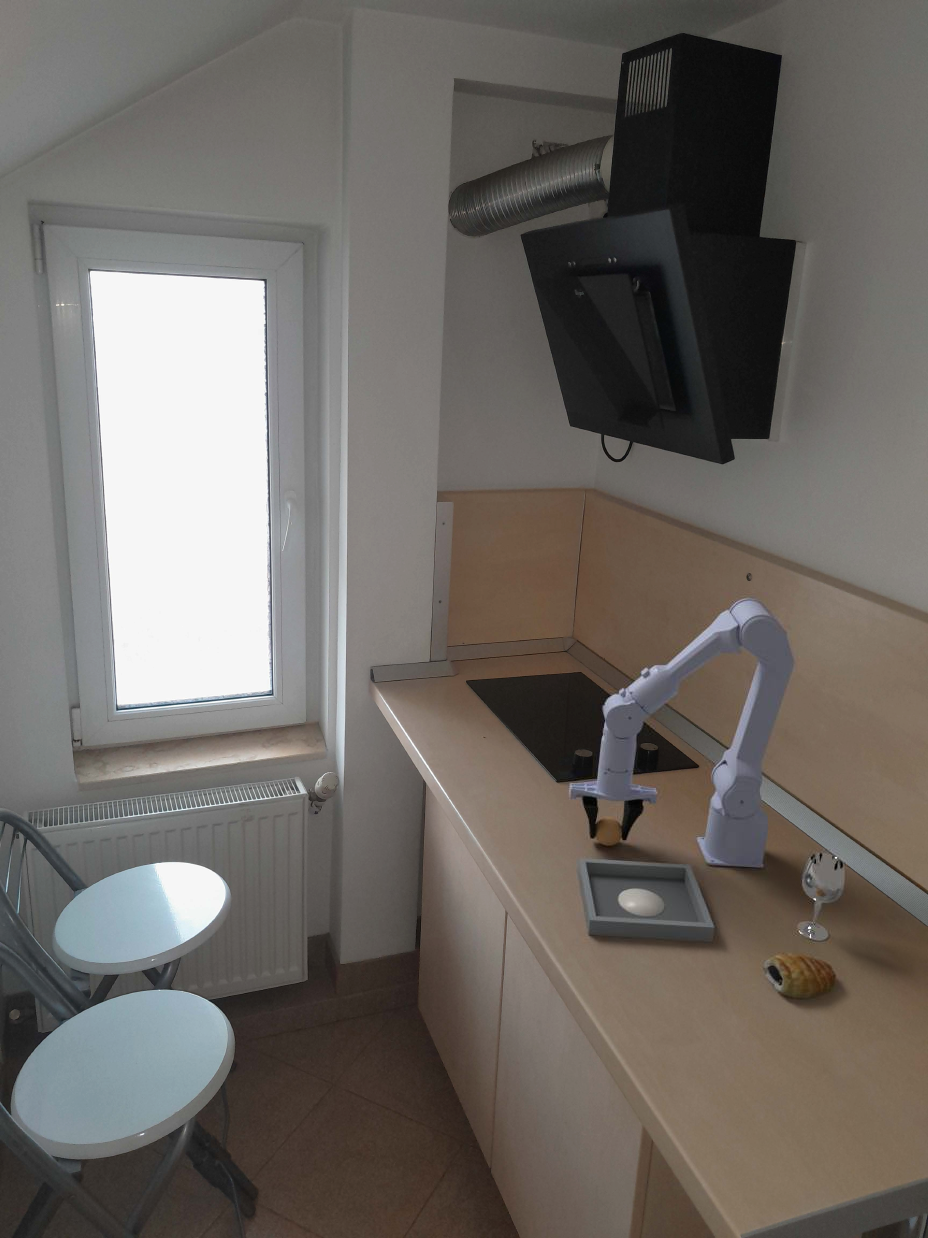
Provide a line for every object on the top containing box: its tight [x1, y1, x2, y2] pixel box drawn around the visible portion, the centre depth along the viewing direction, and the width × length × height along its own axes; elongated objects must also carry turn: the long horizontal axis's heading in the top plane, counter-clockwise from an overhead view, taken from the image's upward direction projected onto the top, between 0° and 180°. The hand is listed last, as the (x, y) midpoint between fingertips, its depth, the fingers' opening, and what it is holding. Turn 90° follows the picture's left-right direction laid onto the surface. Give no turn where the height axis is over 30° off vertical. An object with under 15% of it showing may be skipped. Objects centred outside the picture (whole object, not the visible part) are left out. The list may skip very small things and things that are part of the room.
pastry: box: [762, 952, 837, 1000], centre depth 123 cm, size 9×7×4 cm
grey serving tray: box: [576, 857, 716, 943], centre depth 138 cm, size 18×16×2 cm
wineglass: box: [796, 852, 846, 942], centre depth 133 cm, size 6×6×12 cm
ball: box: [595, 816, 623, 847], centre depth 154 cm, size 5×5×5 cm
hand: (607, 836), depth 154 cm, fingers closed on ball, 5 cm apart
